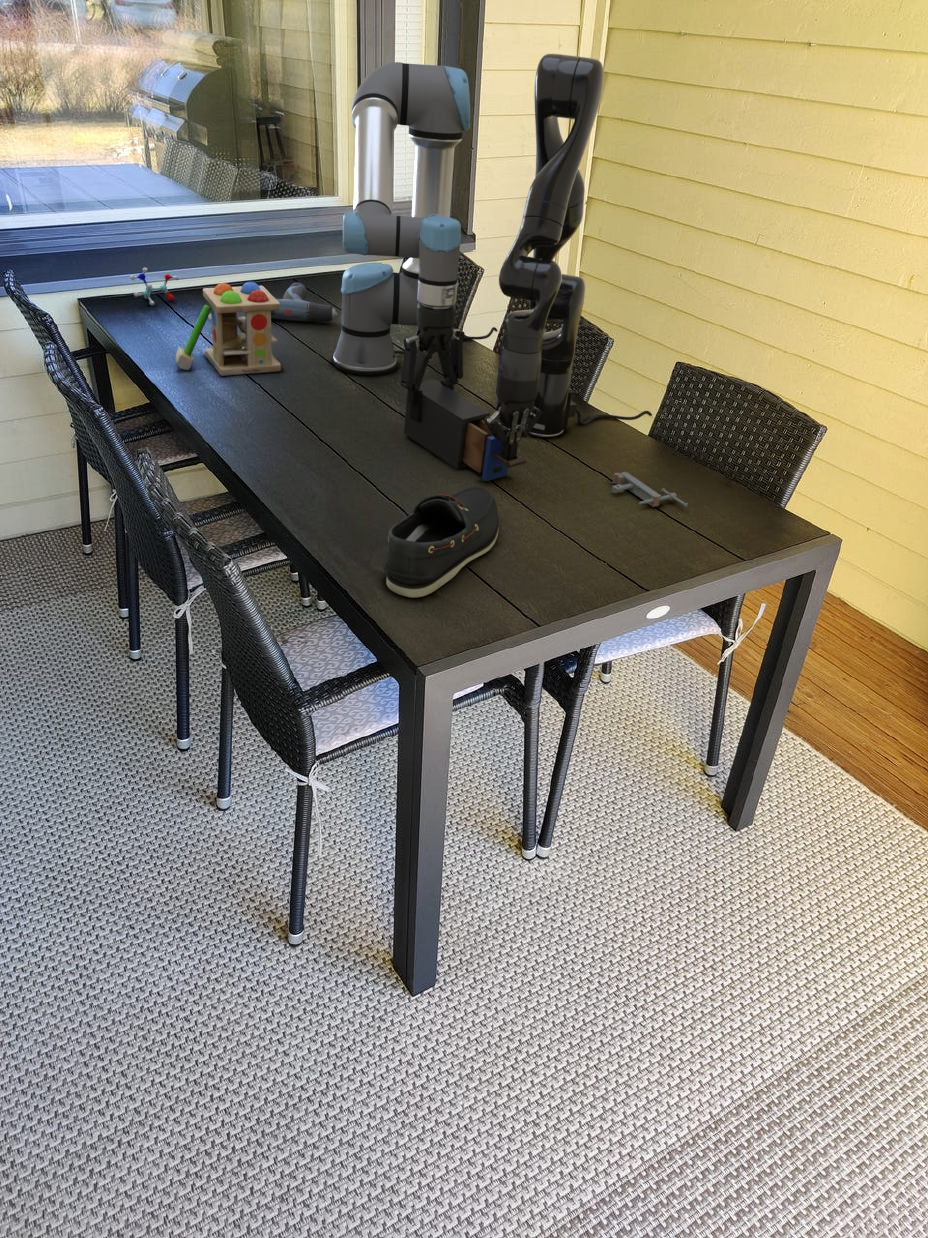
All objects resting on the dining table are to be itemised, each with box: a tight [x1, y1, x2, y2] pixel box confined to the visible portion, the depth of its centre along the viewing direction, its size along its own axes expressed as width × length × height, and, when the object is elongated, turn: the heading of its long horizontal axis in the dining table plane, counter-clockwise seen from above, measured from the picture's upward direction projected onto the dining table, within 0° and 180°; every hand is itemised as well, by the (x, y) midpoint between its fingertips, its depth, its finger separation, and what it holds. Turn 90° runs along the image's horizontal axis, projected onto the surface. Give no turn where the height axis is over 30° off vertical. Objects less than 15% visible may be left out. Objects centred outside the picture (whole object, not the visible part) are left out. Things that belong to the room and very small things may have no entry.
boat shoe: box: [383, 486, 500, 598], centre depth 165 cm, size 13×33×10 cm, turn 147°
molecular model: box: [129, 267, 180, 307], centre depth 263 cm, size 12×10×10 cm
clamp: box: [611, 471, 689, 509], centre depth 190 cm, size 15×2×10 cm
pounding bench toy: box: [174, 281, 282, 377], centre depth 225 cm, size 23×14×18 cm, turn 116°
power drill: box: [271, 282, 338, 322], centre depth 265 cm, size 5×19×20 cm
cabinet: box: [403, 378, 491, 470], centre depth 198 cm, size 18×7×11 cm, turn 40°
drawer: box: [462, 419, 527, 482], centre depth 192 cm, size 22×6×9 cm, turn 40°
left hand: (429, 416), depth 202 cm, fingers closed on cabinet, 7 cm apart
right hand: (508, 459), depth 187 cm, fingers closed
